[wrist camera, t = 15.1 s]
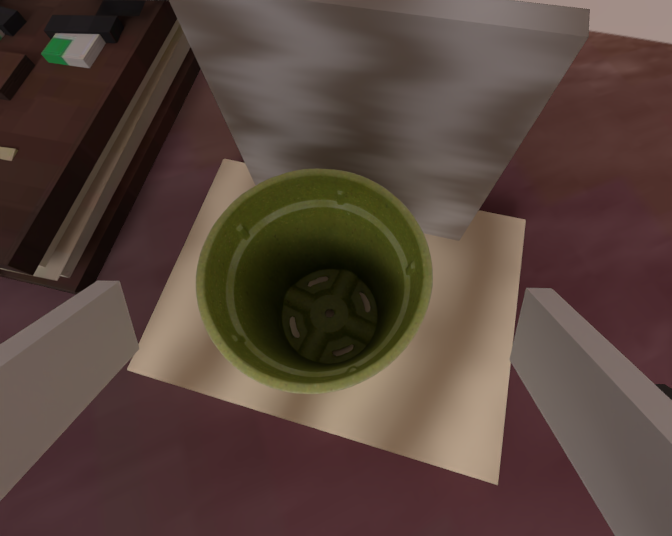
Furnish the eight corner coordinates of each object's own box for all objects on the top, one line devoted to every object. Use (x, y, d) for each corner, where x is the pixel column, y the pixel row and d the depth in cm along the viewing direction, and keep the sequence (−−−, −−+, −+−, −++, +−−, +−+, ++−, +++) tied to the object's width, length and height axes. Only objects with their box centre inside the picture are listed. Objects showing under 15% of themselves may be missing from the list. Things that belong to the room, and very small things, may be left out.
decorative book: (-293, 235, 21) (-6, -72, 31) (-127, 278, 28) (62, 17, 38) (-13, 306, 18) (199, -54, 28) (91, 333, 25) (231, 38, 35)
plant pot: (281, 422, 20) (230, 437, 12) (236, 277, 23) (172, 211, 15) (431, 359, 21) (478, 333, 13) (367, 227, 24) (373, 139, 16)
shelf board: (145, 372, 23) (-226, 320, 9) (232, 174, 29) (97, -73, 14) (484, 477, 20) (841, 686, 5) (513, 233, 26) (733, -6, 11)
